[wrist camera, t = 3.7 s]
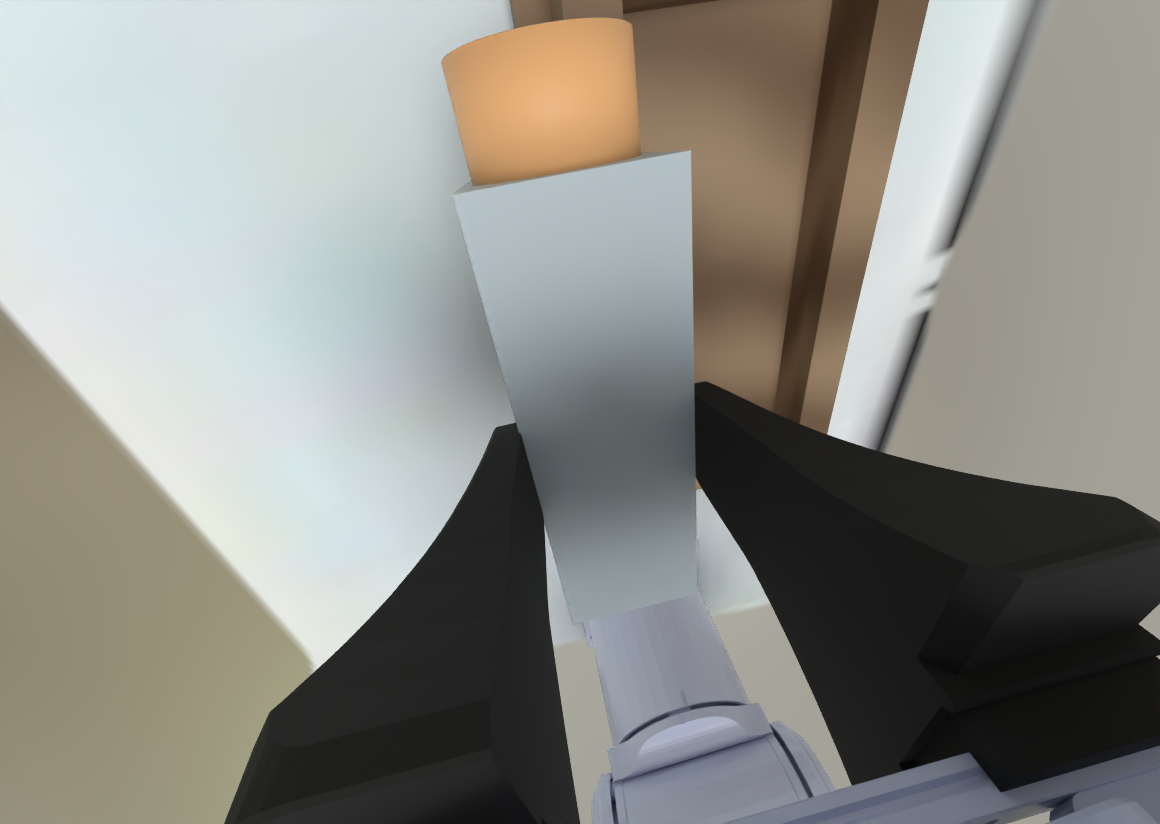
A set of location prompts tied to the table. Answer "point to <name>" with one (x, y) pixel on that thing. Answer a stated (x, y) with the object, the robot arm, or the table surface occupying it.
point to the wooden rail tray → (771, 170)
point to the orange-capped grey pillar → (586, 300)
